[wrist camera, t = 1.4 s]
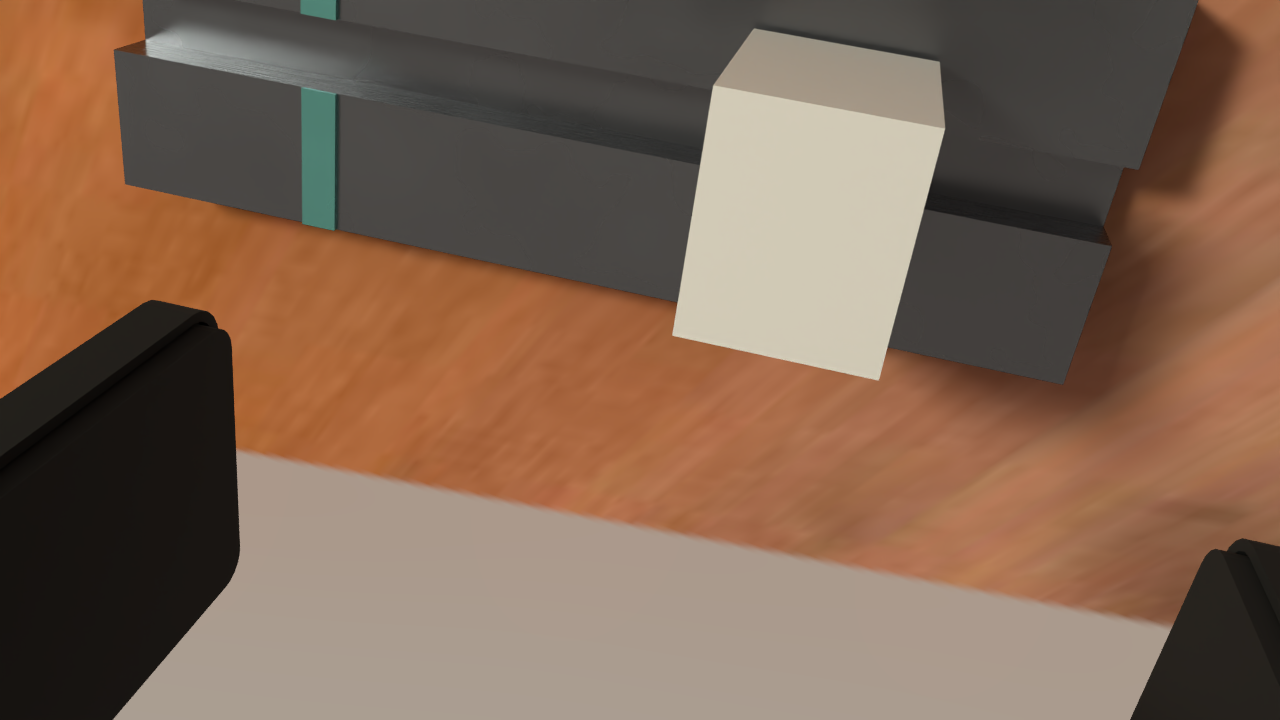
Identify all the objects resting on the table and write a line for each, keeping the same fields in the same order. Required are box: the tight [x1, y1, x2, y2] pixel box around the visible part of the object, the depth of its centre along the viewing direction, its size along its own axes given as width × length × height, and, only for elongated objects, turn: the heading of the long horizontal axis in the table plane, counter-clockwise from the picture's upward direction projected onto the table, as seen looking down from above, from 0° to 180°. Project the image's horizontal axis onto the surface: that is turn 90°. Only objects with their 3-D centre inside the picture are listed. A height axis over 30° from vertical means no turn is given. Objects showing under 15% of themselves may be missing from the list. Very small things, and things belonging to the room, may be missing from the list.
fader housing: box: [114, 0, 1198, 385], centre depth 24 cm, size 22×8×2 cm, turn 82°
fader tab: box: [672, 28, 945, 380], centre depth 21 cm, size 4×4×6 cm
